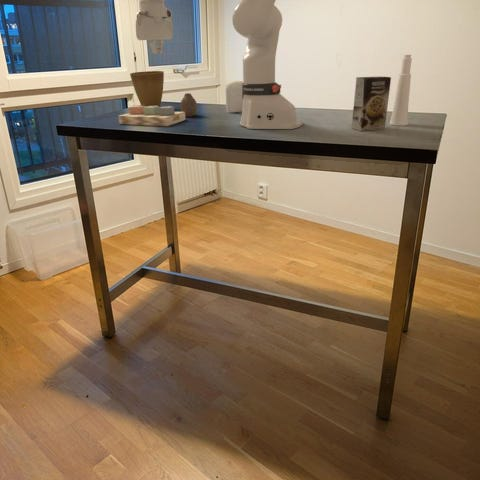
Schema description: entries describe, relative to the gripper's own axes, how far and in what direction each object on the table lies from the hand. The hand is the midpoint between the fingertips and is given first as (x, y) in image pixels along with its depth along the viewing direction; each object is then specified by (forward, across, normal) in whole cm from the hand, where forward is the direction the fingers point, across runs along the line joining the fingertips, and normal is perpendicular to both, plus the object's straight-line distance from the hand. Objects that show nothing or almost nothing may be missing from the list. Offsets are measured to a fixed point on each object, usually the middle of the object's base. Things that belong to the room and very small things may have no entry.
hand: (157, 53), depth 161 cm
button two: (+21, -8, -6) cm, 24 cm away
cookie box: (+24, -3, -80) cm, 84 cm away
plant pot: (+24, +21, +20) cm, 38 cm away
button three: (+22, -8, 0) cm, 23 cm away
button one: (+21, -8, +7) cm, 24 cm away
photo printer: (+24, +22, -23) cm, 40 cm away
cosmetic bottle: (+24, +7, -89) cm, 93 cm away
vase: (+24, +8, -7) cm, 27 cm away
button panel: (+24, -8, 0) cm, 25 cm away
